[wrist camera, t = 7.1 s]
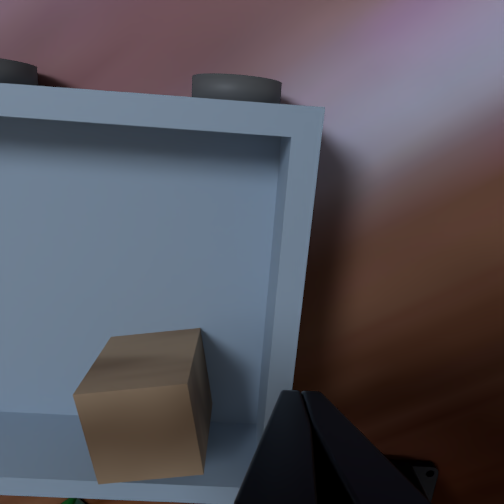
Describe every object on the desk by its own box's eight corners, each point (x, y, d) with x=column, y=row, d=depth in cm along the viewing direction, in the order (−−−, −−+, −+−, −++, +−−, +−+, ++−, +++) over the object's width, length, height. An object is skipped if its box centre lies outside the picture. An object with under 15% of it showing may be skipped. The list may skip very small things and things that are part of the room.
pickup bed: (269, 434, 23) (276, 523, 18) (-5, 421, 23) (-81, 508, 18) (304, 90, 18) (328, 73, 12) (-59, 62, 17) (-193, 33, 12)
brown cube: (212, 403, 21) (203, 474, 17) (128, 411, 21) (98, 484, 17) (200, 327, 20) (187, 383, 15) (110, 336, 20) (72, 394, 15)
